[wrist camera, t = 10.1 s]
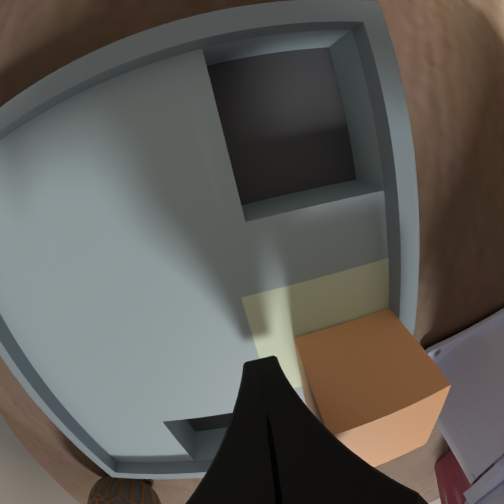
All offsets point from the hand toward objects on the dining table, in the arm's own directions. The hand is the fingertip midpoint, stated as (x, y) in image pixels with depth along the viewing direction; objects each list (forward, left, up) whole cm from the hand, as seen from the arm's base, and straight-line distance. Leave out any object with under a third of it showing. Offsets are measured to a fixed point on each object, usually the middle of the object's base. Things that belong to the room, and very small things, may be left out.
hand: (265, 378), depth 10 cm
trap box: (+3, -1, -4) cm, 5 cm away
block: (-3, +2, -2) cm, 4 cm away
